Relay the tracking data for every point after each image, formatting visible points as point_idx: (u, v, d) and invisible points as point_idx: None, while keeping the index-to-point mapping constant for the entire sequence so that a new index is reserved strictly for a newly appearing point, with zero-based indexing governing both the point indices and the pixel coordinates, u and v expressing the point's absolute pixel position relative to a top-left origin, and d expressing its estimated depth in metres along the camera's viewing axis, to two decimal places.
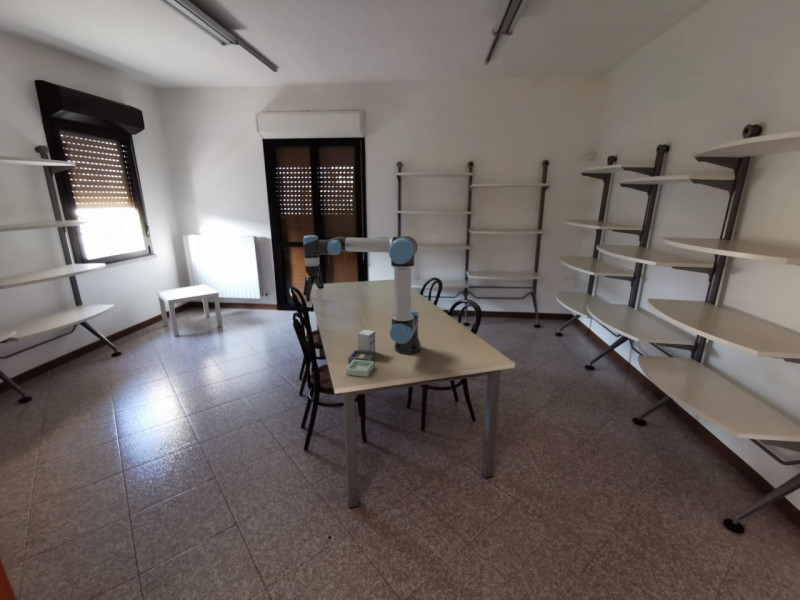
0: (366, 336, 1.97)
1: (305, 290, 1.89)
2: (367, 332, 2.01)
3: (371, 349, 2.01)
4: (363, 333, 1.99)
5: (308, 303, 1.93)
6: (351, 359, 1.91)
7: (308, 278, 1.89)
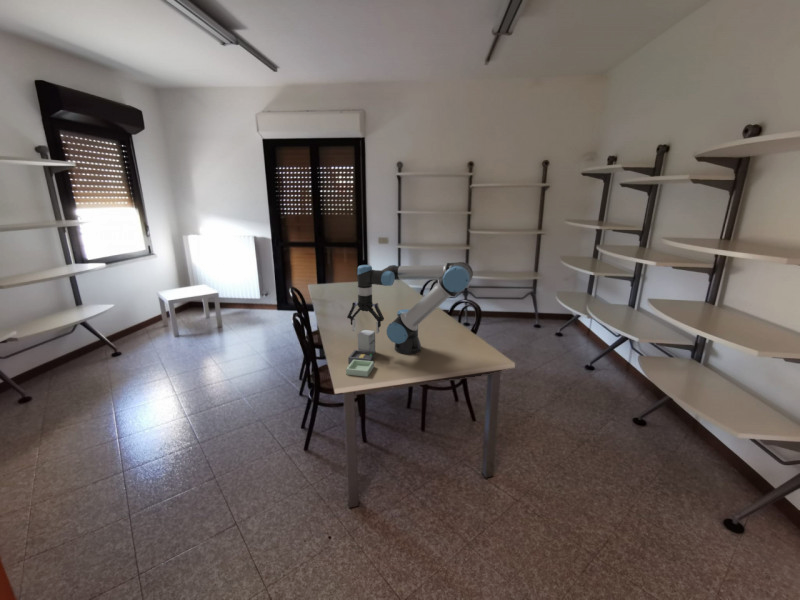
0: (366, 336, 1.97)
1: (349, 313, 2.00)
2: (367, 332, 2.01)
3: (371, 349, 2.01)
4: (363, 333, 1.99)
5: None
6: (351, 359, 1.91)
7: None
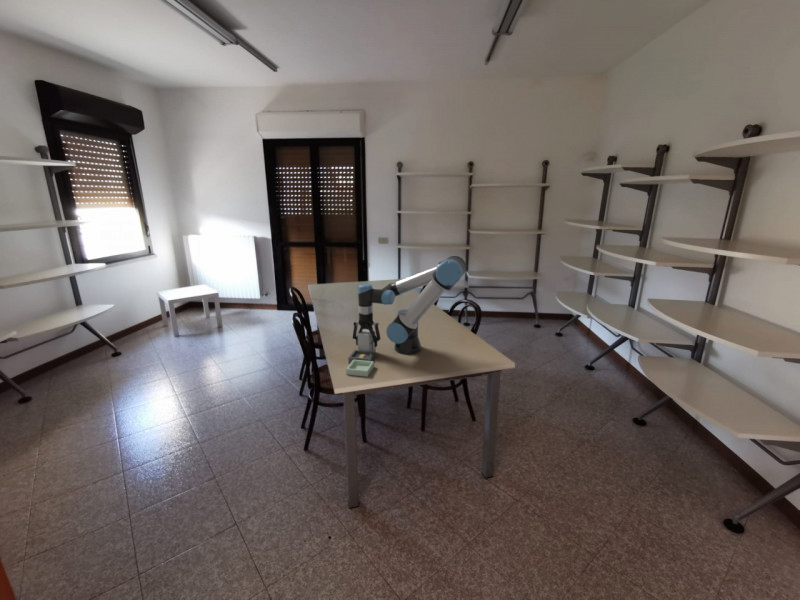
0: (366, 336, 1.97)
1: None
2: (367, 332, 2.01)
3: (371, 349, 2.01)
4: (363, 332, 1.99)
5: None
6: (351, 359, 1.91)
7: None
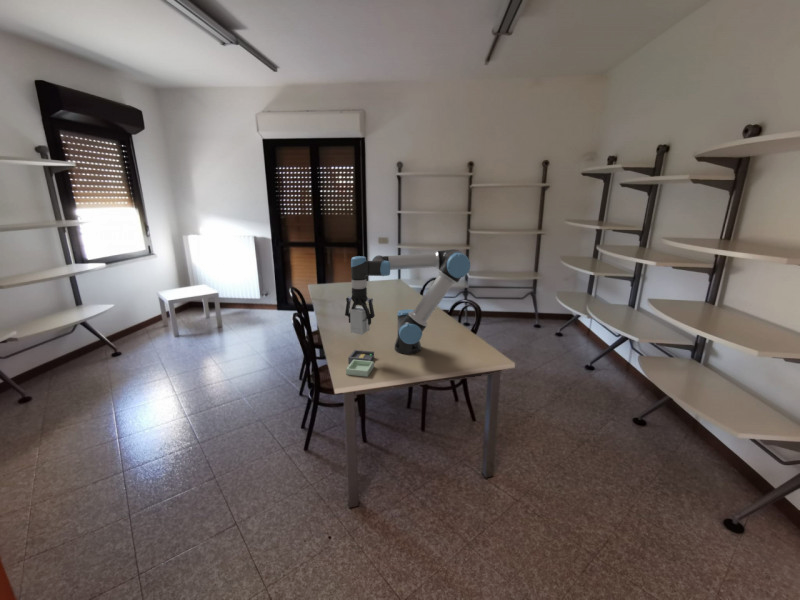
0: (359, 312, 1.84)
1: None
2: (361, 308, 1.88)
3: (364, 327, 1.88)
4: (356, 309, 1.87)
5: None
6: (351, 359, 1.91)
7: None
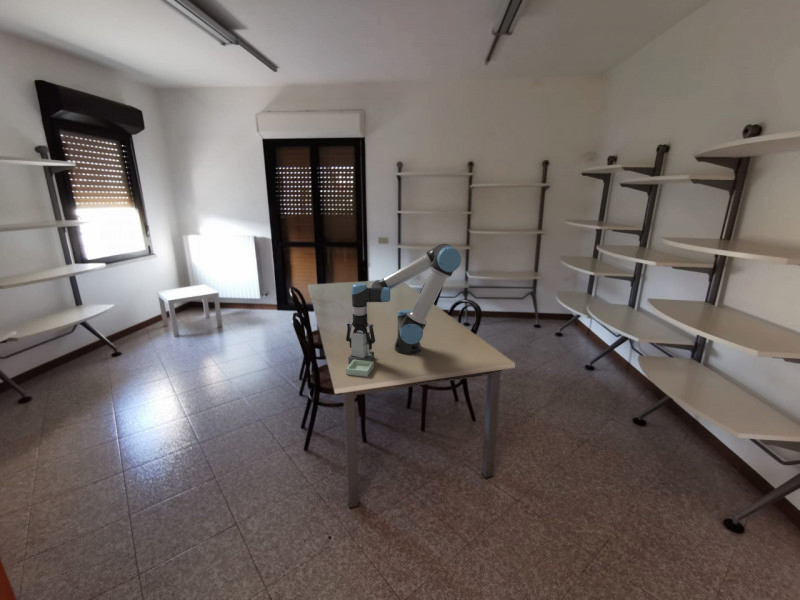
0: (360, 336, 1.87)
1: None
2: (361, 332, 1.91)
3: (365, 350, 1.91)
4: (357, 333, 1.89)
5: None
6: (351, 359, 1.91)
7: None
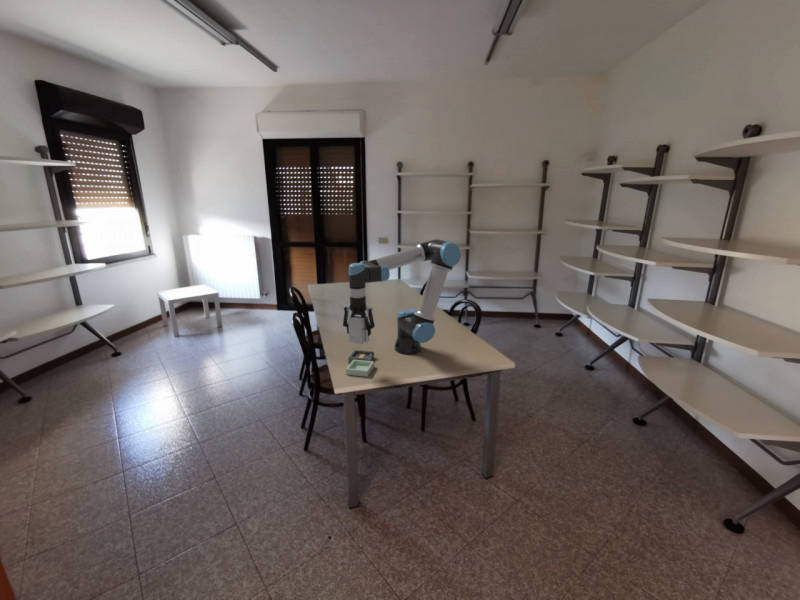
0: (358, 321, 1.73)
1: None
2: (360, 316, 1.76)
3: (364, 336, 1.76)
4: (354, 317, 1.75)
5: None
6: (351, 359, 1.91)
7: None
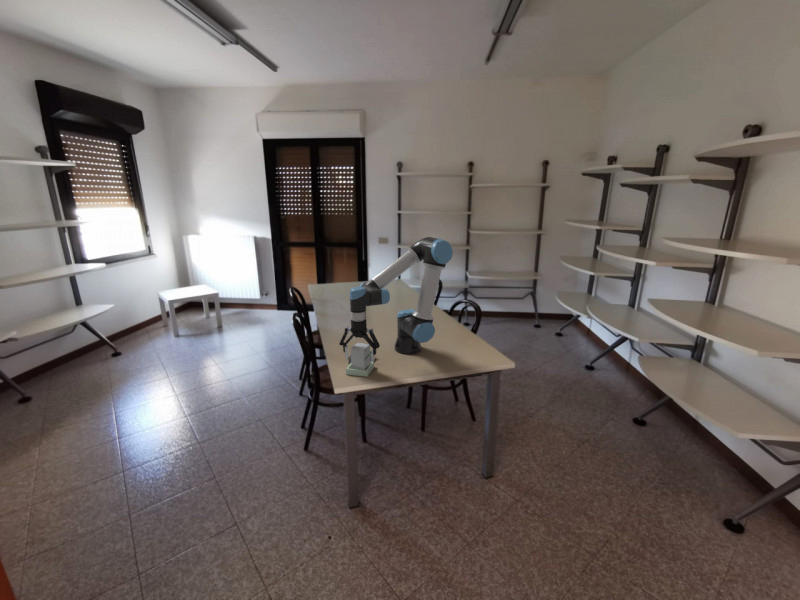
0: (360, 350, 1.77)
1: None
2: (362, 345, 1.81)
3: (366, 364, 1.81)
4: (357, 346, 1.79)
5: None
6: None
7: None
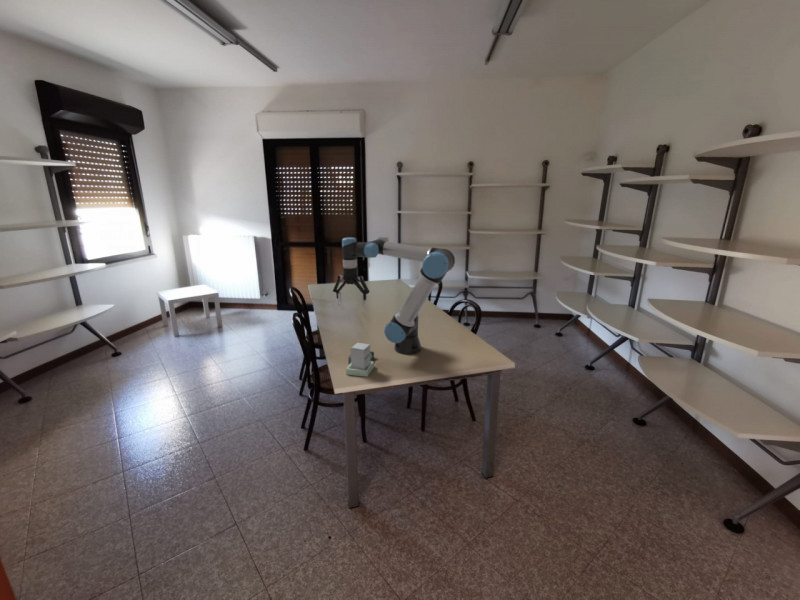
0: (360, 350, 1.77)
1: None
2: (362, 345, 1.81)
3: (366, 364, 1.81)
4: (357, 346, 1.79)
5: None
6: None
7: None
